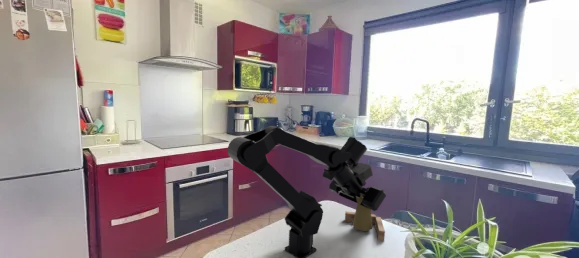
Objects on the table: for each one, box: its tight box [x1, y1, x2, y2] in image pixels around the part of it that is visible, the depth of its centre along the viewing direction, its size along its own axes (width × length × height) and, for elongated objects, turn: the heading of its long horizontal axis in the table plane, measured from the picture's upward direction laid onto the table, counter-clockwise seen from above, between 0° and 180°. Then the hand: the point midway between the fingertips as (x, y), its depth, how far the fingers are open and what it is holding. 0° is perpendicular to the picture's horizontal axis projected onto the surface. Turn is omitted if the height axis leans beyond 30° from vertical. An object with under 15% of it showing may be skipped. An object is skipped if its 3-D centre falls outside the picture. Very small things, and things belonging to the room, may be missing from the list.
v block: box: [344, 210, 386, 242], centre depth 87 cm, size 8×16×3 cm, turn 33°
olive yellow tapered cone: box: [352, 195, 373, 232], centre depth 84 cm, size 6×6×11 cm
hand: (366, 205), depth 85 cm, fingers closed on olive yellow tapered cone, 5 cm apart
